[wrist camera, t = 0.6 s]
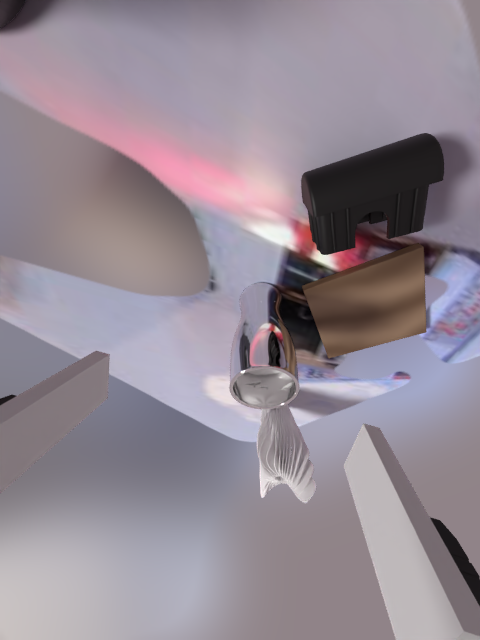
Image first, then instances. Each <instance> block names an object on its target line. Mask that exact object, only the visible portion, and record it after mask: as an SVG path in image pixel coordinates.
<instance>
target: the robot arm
mask: <svg viewBox="0 0 480 640" xmlns="http://www.w3.org/2000/svg"><path fill="white" fill-rule="evenodd" d="M24 3H25V0H0V28H1V27H3V26H5V25H6V24H8V23H9V22H10V21H11V20H12V19H13V18H14V17H15V16H16V15H17V14H18V13H19V11H20V10H21V8H22V6H23V5H24ZM109 356H110V354H106V353H102V352H99V351H95V352H93V353H91V354H89V355H88V356H86V357H84V358H82V359H81V360H79V361H77V362H75V363H74V364H72V365H70V366H68V367H67V368H65V369H63V370H62V371H60V372H58V373H56V374H55V375H53V376H51V377H49V378H47V379H46V380H44V381H42V382H40V383H39V384H37V385H35V386H34V387H32V388H30V389H28V390H27V391H25V392H23V393H21V394H19V395H18V396H15V395H10V396H7V397H4V398H1V399H0V494H1V492H3V491H4V490H5V489H6V488H7V487H8V486H9V485H11V484H12V483H13V482H14V481H15V480H16V479H17V478H19V477H20V476H21V475H22V474H23V473H24V472H25V471H26V470H28V469H29V468H30V467H31V466H32V465H33V464H34V463H35V462H36V461H38V460H39V459H40V458H41V457H42V456H43V455H44V454H46V453H47V452H48V451H49V450H50V449H51V448H52V447H53V446H55V444H57V443H58V442H59V441H60V440H61V439H62V438H63V437H65V436H66V435H67V434H68V433H69V432H70V431H71V430H72V429H74V427H76V426H77V425H78V424H79V423H80V422H81V421H83V420H84V419H85V418H86V417H87V416H88V415H89V414H90V413H92V412H93V411H94V410H95V409H96V408H97V407H98V406H99V405H100V404H102V403H103V402H104V401H105V400H106V399H107V398H108V378H109ZM344 469H345V472H346V475H347V479H348V482H349V485H350V488H351V492H352V495H353V498H354V502H355V505H356V508H357V512H358V515H359V519H360V522H361V525H362V529H363V532H364V535H365V539H366V542H367V545H368V548H369V552H370V555H371V558H372V562H373V565H374V568H375V572H376V575H377V578H378V582H379V585H380V588H381V592H382V595H383V598H384V602H385V605H386V608H387V611H388V615H389V618H390V621H391V625H392V628H393V632H394V635H395V638H396V640H480V579H479V575H478V573H477V572H476V570H475V569H474V567H473V565H472V564H471V563H469V559H468V557H467V555H466V554H465V552H464V551H463V549H462V547H461V546H460V544H459V542H458V541H457V539H456V538H455V537H454V536H453V534H452V533H451V532H450V531H449V530H448V529H447V528H446V526H445V525H444V524H443V523H442V522H441V521H440V520H437V519H434V518H430V517H429V515H428V514H427V512H426V510H425V509H424V506H423V505H422V503H421V501H420V499H419V498H418V496H417V494H416V492H415V491H414V489H413V487H412V485H411V483H410V481H409V480H408V478H407V476H406V474H405V473H404V471H403V469H402V467H401V465H400V464H399V462H398V460H397V459H396V457H395V455H394V453H393V451H392V449H391V448H390V446H389V444H388V442H387V441H386V439H385V437H384V435H383V433H382V432H381V430H380V428H378V427H374V426H371V425H367V424H363V425H362V428H361V430H360V432H359V434H358V436H357V438H356V440H355V443H354V445H353V447H352V449H351V451H350V454H349V456H348V458H347V460H346V462H345V464H344Z"/></svg>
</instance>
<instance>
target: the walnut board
mask: <svg viewBox="0 0 480 640" xmlns="http://www.w3.org/2000/svg"><path fill="white" fill-rule="evenodd" d="M302 288H303V291H304V294H305V297H306V299H307V302H308V305H309V307H310V310H311V313H312V315H313V318H314V321H315V323H316V326H317V329H318V331H319V334H320V337H321V339H322V342H323V344H324V347H325V350H326V352H327V355H328V358H332V357H335V356H339V355H343V354H347V353H350V352H354V351H358V350H361V349H365V348H369V347H373V346H376V345H380V344H384V343H388V342H391V341H395V340H399V339H402V338H406V337H410V336H413V335H417V334H421V333H425V332H426V307H425V273H424V247H423V246H422V245H420V244H419V243H417V244H414V245H411V246H409V247H406V248H403V249H401V250H398V251H395V252H392V253H390V254H387V255H384V256H382V257H379V258H376V259H373V260H371V261H368V262H365V263H363V264H360V265H357V266H354V267H352V268H349V269H346V270H344V271H341V272H338V273H336V274H333V275H330V276H327V277H325V278H322V279H319V280H317V281H314V282H311V283H308V284H306V285H303V286H302Z"/></svg>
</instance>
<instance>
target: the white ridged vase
mask: <svg viewBox="0 0 480 640" xmlns="http://www.w3.org/2000/svg"><path fill="white" fill-rule="evenodd" d="M291 447H292V449H291ZM257 452H258V457H259V460H260V489H261V497H262V498H263V497H264V496H265V494H266V493H268V492H269V489H272V488H273V486H276V484H278V485H279V483H280V482H281V480H282V482H281V484H282V483H284V484H288V485H289V486H290V488H291V489H292V490H293V492H294V494H295V495H296V496H297V498H298V499H299V500H301V501H302V502H303V503H308V501H309V499H310V498H312V496H313V495H314V494H315V492H316V484H315V482H314V480H313V479H312V474H313V470H314V466H313V464H312V463H311V461H310V460H309V459H308V457H309V451H308V448H307V446H306V444H305V442H304V439H303V437H302V434H301V432H300V430H299V428H298V426H297V424H296V422H295V420H294V418H293V416H292V413H291V411H290V409H289V405H288V404H286V405H284V406H281V407H278V408H273V409H262V412H261V426H260V428H259V432H258V436H257ZM290 456H291V457H290ZM280 476H281V478H280Z"/></svg>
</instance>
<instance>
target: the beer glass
mask: <svg viewBox="0 0 480 640" xmlns="http://www.w3.org/2000/svg"><path fill="white" fill-rule="evenodd" d="M239 305H240V310H241V318H240V321H239V324H238V327H237V329H236V332H235V335H234V339H233V342H232V348H231V355H230V393H231V395H232V396H233V398H234V399H235V400H236V401H238V402H239V403H241V404H243V405H245V406H248V407H251V408H256V409H273V408H278V407H281V406H284V405H286V404H288V403H290V402H291V401H293V400H294V399H295V398H296V396H297V395H298V393H299V381H298V368H297V359H296V352H295V348H294V343H293V340H292V338H291V335H290V332H289V330H288V328H287V325H286V323H285V321H284V319H283V317H282V313H281V309H282V296H281V293H280V292H279V290H278V289H277V288H276V287H274V286H273V285H270V284H267V283H255V284H252V285H250V286H248V287H247V288H245V289H244V290H243V292H242V293H241V295H240V299H239Z"/></svg>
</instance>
